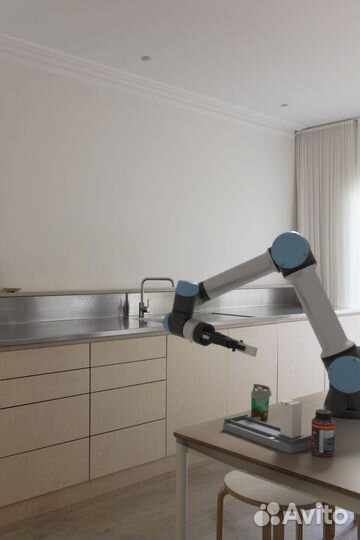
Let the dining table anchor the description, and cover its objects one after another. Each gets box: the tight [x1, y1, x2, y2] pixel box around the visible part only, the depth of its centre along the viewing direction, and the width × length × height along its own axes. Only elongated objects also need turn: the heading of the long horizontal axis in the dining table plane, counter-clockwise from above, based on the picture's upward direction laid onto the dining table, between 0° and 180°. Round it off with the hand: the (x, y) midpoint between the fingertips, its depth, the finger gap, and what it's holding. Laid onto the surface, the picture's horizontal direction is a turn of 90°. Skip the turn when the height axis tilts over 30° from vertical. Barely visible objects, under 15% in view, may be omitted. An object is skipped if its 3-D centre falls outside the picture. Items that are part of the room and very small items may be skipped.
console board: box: [222, 413, 312, 455], centre depth 152 cm, size 10×26×3 cm, turn 38°
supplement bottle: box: [310, 408, 336, 458], centre depth 139 cm, size 6×6×11 cm
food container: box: [250, 383, 273, 422], centre depth 171 cm, size 12×6×10 cm, turn 168°
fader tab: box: [278, 399, 305, 440], centre depth 145 cm, size 5×5×10 cm
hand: (255, 352), depth 159 cm, fingers closed
